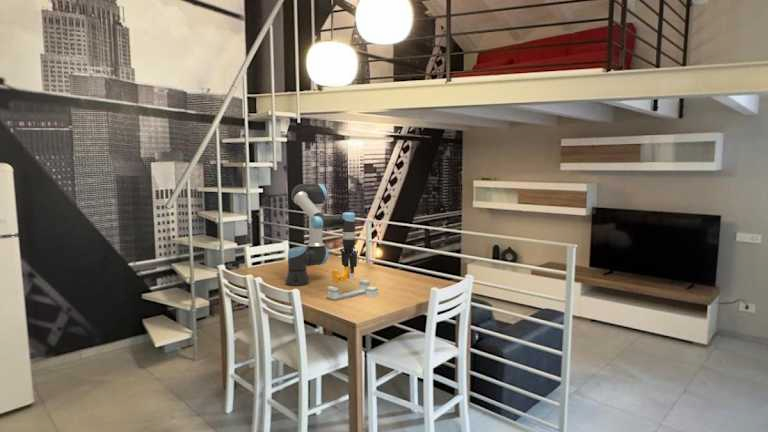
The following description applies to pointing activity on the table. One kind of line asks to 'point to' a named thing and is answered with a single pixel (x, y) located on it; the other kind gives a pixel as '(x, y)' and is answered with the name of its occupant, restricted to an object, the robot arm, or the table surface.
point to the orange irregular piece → (339, 278)
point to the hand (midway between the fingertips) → (349, 277)
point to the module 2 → (364, 284)
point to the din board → (348, 294)
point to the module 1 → (332, 292)
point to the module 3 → (372, 292)
